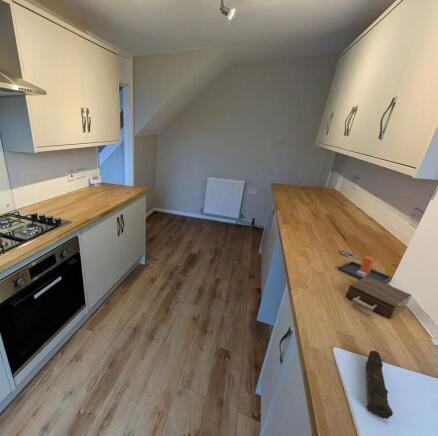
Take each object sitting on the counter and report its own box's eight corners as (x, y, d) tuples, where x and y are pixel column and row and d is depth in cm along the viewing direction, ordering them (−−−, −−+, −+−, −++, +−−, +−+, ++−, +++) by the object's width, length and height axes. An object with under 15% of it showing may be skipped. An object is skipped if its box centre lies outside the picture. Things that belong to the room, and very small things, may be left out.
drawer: (381, 320, 82) (385, 312, 80) (340, 299, 92) (343, 291, 90) (402, 305, 89) (406, 297, 87) (362, 287, 99) (365, 279, 98)
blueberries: (340, 250, 132) (342, 247, 131) (359, 255, 126) (360, 252, 125) (337, 253, 128) (338, 250, 127) (356, 259, 122) (357, 256, 121)
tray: (390, 280, 105) (392, 277, 105) (377, 288, 100) (379, 284, 100) (350, 264, 118) (351, 261, 117) (337, 270, 113) (338, 266, 112)
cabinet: (389, 319, 84) (396, 306, 82) (345, 296, 95) (350, 284, 93) (405, 306, 90) (411, 294, 88) (362, 286, 101) (366, 275, 99)
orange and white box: (369, 274, 109) (375, 258, 106) (363, 277, 106) (369, 261, 103) (361, 271, 111) (367, 255, 108) (355, 274, 108) (361, 258, 105)
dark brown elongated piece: (388, 423, 54) (396, 410, 52) (365, 410, 56) (372, 397, 54) (382, 365, 67) (388, 353, 66) (364, 356, 70) (369, 344, 68)
